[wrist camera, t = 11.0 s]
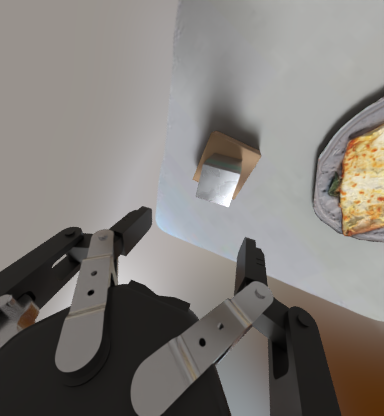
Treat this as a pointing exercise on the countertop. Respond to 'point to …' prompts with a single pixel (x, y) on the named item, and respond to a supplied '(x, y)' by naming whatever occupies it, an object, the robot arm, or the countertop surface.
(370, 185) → the food plate
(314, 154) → the countertop surface
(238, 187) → the tan block
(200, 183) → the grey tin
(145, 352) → the robot arm
